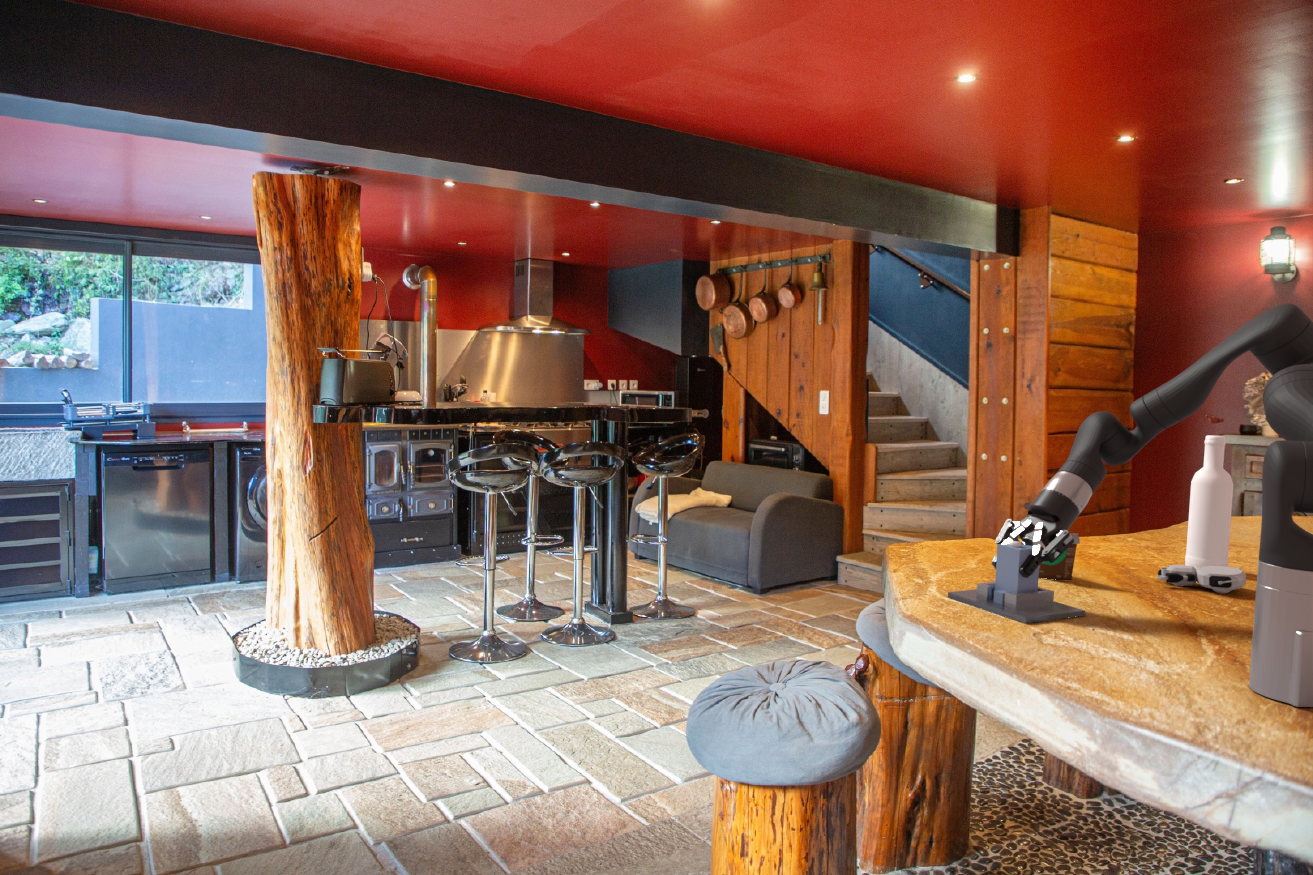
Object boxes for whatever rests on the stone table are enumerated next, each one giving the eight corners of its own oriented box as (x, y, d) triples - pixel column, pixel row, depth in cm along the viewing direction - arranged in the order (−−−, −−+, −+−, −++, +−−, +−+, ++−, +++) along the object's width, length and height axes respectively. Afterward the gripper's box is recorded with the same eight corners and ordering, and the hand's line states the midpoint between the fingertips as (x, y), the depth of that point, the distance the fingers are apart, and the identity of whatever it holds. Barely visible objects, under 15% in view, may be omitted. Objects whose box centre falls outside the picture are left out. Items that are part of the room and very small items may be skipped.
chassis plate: (1084, 616, 147) (1086, 596, 147) (1025, 623, 142) (1026, 603, 141) (1003, 591, 164) (1004, 573, 163) (947, 597, 158) (948, 578, 158)
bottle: (1176, 567, 190) (1185, 434, 188) (1202, 566, 193) (1212, 434, 191) (1208, 575, 183) (1218, 437, 181) (1236, 574, 185) (1246, 437, 183)
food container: (1007, 571, 182) (1010, 525, 181) (1028, 569, 185) (1030, 523, 184) (1056, 584, 171) (1059, 535, 170) (1077, 582, 174) (1080, 533, 173)
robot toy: (1156, 592, 171) (1246, 599, 162) (1155, 570, 171) (1246, 575, 162) (1159, 581, 181) (1245, 587, 173) (1159, 560, 181) (1245, 564, 172)
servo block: (1037, 603, 151) (1040, 543, 150) (1008, 606, 148) (1012, 545, 148) (1014, 596, 156) (1017, 538, 155) (986, 599, 153) (990, 540, 152)
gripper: (1104, 522, 150) (1052, 594, 146) (1038, 509, 163) (988, 575, 159) (1085, 493, 148) (1031, 565, 144) (1019, 483, 161) (968, 549, 157)
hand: (1008, 570), depth 151 cm, fingers open, 5 cm apart
